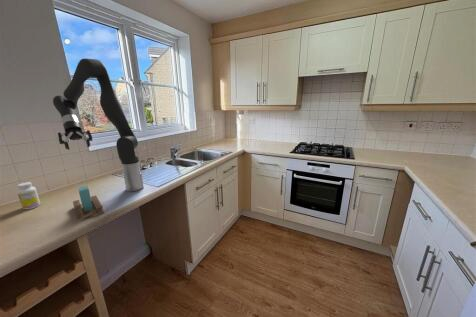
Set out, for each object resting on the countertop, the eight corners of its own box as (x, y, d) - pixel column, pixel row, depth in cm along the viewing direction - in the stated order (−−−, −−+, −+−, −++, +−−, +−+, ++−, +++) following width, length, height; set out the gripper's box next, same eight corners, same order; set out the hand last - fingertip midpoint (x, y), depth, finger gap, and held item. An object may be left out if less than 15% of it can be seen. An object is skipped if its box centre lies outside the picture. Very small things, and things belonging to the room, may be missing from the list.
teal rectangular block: (91, 205, 103) (86, 185, 100) (93, 209, 99) (88, 188, 96) (82, 207, 100) (77, 187, 97) (84, 211, 96) (79, 191, 93)
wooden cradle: (97, 201, 109) (96, 195, 108) (103, 213, 97) (102, 206, 96) (74, 207, 102) (72, 201, 101) (77, 221, 90) (76, 214, 89)
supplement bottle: (27, 204, 105) (20, 182, 102) (43, 202, 108) (36, 180, 104) (19, 211, 99) (11, 187, 96) (36, 208, 102) (29, 185, 98)
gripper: (53, 121, 105) (60, 145, 100) (87, 119, 114) (94, 141, 109) (56, 130, 110) (62, 154, 105) (87, 127, 119) (94, 149, 114)
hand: (78, 147), depth 107 cm, fingers open, 8 cm apart
